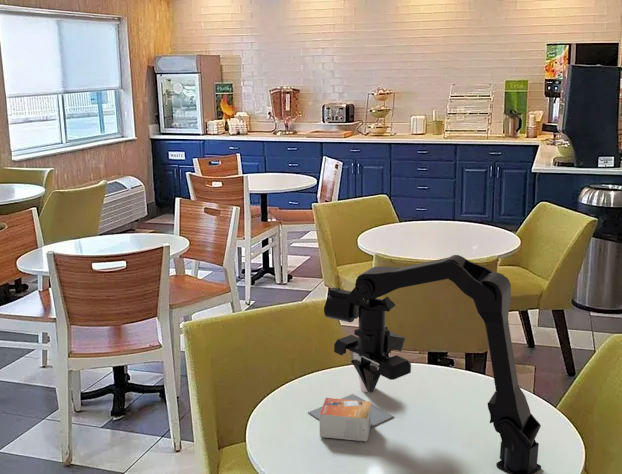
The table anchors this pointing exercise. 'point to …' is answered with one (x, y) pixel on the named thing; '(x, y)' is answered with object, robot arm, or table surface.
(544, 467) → the table surface
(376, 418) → the mat
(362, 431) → the small box
